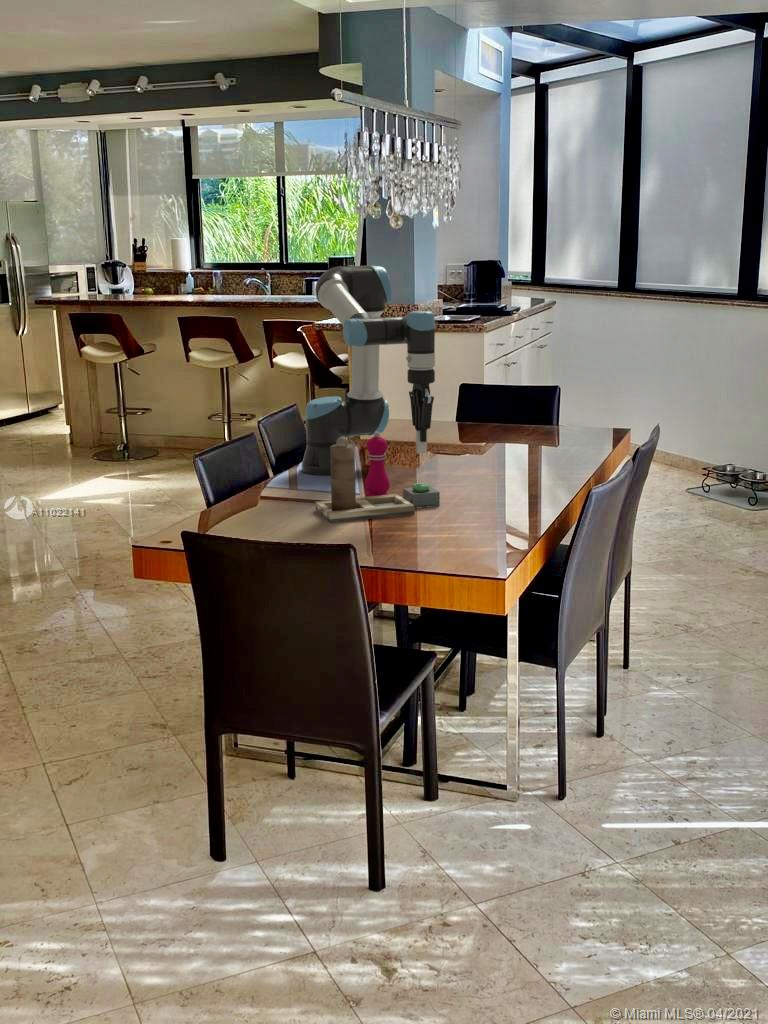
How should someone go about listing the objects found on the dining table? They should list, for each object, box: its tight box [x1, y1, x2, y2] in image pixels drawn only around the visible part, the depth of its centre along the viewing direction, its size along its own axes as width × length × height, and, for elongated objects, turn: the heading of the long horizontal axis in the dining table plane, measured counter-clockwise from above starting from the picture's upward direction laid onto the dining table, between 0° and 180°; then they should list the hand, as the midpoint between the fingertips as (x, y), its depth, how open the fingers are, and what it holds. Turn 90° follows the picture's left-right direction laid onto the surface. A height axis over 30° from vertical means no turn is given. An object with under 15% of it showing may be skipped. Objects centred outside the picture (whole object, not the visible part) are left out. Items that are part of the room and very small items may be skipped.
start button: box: [412, 482, 431, 492], centre depth 301 cm, size 5×5×4 cm
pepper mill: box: [364, 432, 391, 497], centre depth 304 cm, size 7×7×20 cm
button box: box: [402, 486, 441, 509], centre depth 301 cm, size 8×8×4 cm
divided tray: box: [315, 493, 415, 524], centre depth 293 cm, size 14×24×2 cm, turn 110°
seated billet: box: [330, 437, 357, 511], centre depth 289 cm, size 7×7×21 cm
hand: (421, 452), depth 298 cm, fingers closed
